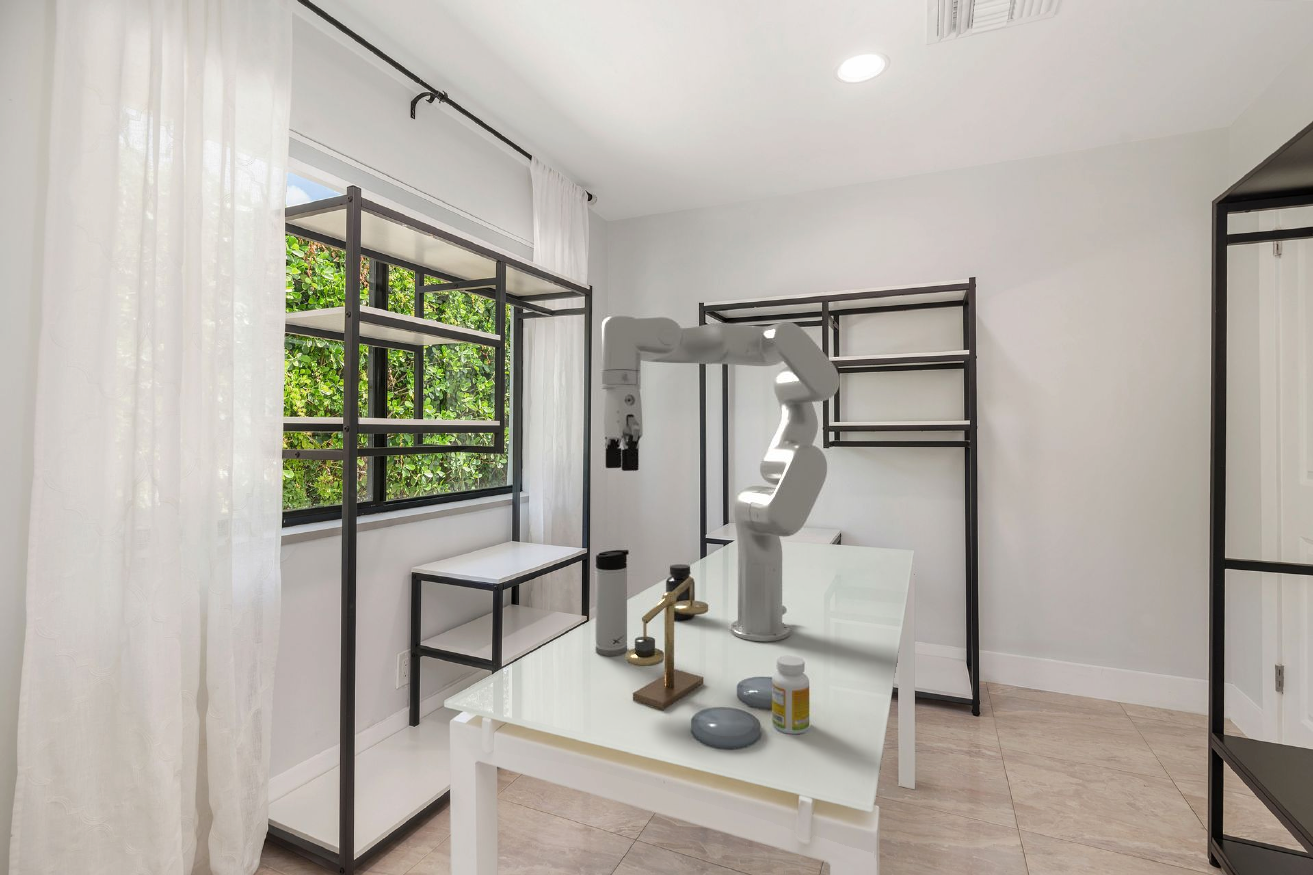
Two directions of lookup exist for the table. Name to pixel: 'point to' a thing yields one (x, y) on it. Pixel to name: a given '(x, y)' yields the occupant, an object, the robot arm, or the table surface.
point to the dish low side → (725, 728)
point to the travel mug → (611, 602)
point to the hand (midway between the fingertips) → (621, 469)
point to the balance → (666, 652)
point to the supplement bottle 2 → (790, 696)
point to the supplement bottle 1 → (676, 579)
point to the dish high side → (756, 692)
